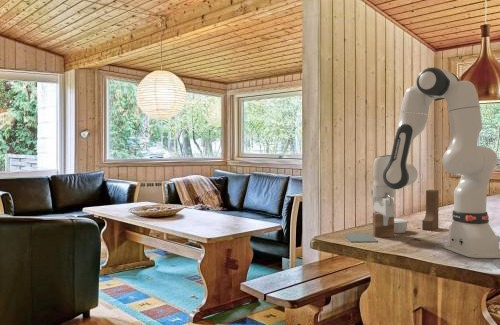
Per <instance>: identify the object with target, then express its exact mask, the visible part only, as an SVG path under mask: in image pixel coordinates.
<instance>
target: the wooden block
mask: <svg viewBox="0 0 500 325" xmlns="http://www.w3.org/2000/svg"><path fill="white" fill-rule="evenodd" d="M439 194H440V193H439V190H438V189H427V190H425V216H424V218H423V219H422V220H421V221H422V222H421V224H422V225H421V227H422V228H421V229H422V230H423V231H430V230H431V231H434V230H437V229H438V228H439Z"/></svg>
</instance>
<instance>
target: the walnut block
mask: <svg viewBox="0 0 500 325" xmlns="http://www.w3.org/2000/svg"><path fill="white" fill-rule="evenodd" d="M394 218H395V216H394V217H389V219H388V225H387V226H384V225H383V215H381V214H380V213H378V212H376V211H375V212H372V235H373V236H372V237H374V238H394V237H395V233H394Z"/></svg>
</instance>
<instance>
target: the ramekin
mask: <svg viewBox="0 0 500 325" xmlns="http://www.w3.org/2000/svg"><path fill="white" fill-rule="evenodd" d="M408 223H409V221H408V219H405V218H399V217H398V218H397V217H394V234H404V233H406V232H407V227H408Z"/></svg>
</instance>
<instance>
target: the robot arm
mask: <svg viewBox="0 0 500 325" xmlns="http://www.w3.org/2000/svg"><path fill="white" fill-rule="evenodd" d="M415 83H416V85H413V86H409V87H408V88H406V90H405V93H404V95H403V98H402V100H401V105H400V109H399V110H400V111H399V115H398V116H399V117H398V122H397V123H398V124H397V129H396V134H395V138H394V140H393V141H394V142H393V145H392V150H391V154H386V155H385V154H384V155H380V156H377V157H375V159H374V161H373V165H372V178H373V183H372V189H371V195H372V208H373V211H375V212H378V213H380V214H381V215H383V225H384V226H387V225H388V219H389V217H394V218H395V203H394V202H395V201H394V199H393V197H395V190H400V189H402V188H405V187H408V186H410V185H412V184H414V183H415V182H416V181H417V179H418V175H419V174H418V170H417V168H416V167H415V166H414V165H413V164H411V163H408V159H409V158H408V157H409V153H410V148H411V145H412V143H413V141H414V140H415V138H417V137H418V136H419V135H421V133H422V132H423V131H424V130H425V128H426V124H427V121H428V116H429V111H430V106H431V104H432V102H433V101H436V102H437V101H440V100H445V101H446V104H447V114H448V121H449V122H448V123H449V140H448V146H447V149H446V151H445V152H444V153H443V155H442V158H441V164H442V167H443V169H444V170H445V171H446V172H447V173H450V174H452V175H455V176H460V179H459V182H458V183H457V186H455V189H454V191H453V210H452V213H451V214H452V215H451V216H452V220H453V221H452V223H451V224H450V225H449V227H448V234H447V236H448V237H447V244H444V247H443V249H446V250H449V251H451V252H454V253H456V254H459V255H462V256H464V257H468V258H476V259H500V235H497V234H496V233H495V232H494V230H493V228H492V227H491V225H490V218H489V217H490V216H489V214H488V212H487V193H488V186H489V183H490V179H491V175H492V172H493V170H494V169H495V168H496V167H497V164H498V161H499V160H498V155H497V152H495V151H494V150H493V149H492V148H489V147H487V146H484V145H478V141H479V136H480V133H481V132H482V130H483V121H482V113H481V112H482V111H481V106H480V99H479V96H478V95H479V94H478V92H477V90H476V87H475V84H474V83H472V82H471V81H469V80H460V79H459V77H458V76H457V75H456V74H454V73H453V72H450V71H448V70H447V69H442V68H439V67H427V68H425V69H423V70H421V72H419V74H418V75H417V78H416V82H415Z"/></svg>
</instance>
